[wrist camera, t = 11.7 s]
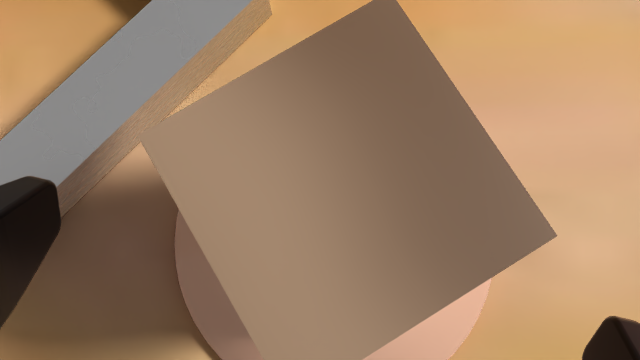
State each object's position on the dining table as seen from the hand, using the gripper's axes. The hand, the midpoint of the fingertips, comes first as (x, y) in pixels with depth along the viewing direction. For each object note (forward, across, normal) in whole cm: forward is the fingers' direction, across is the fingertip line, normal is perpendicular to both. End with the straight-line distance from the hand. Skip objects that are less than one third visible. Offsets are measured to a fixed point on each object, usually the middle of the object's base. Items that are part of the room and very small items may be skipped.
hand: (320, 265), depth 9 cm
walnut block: (+8, 0, +6) cm, 10 cm away
